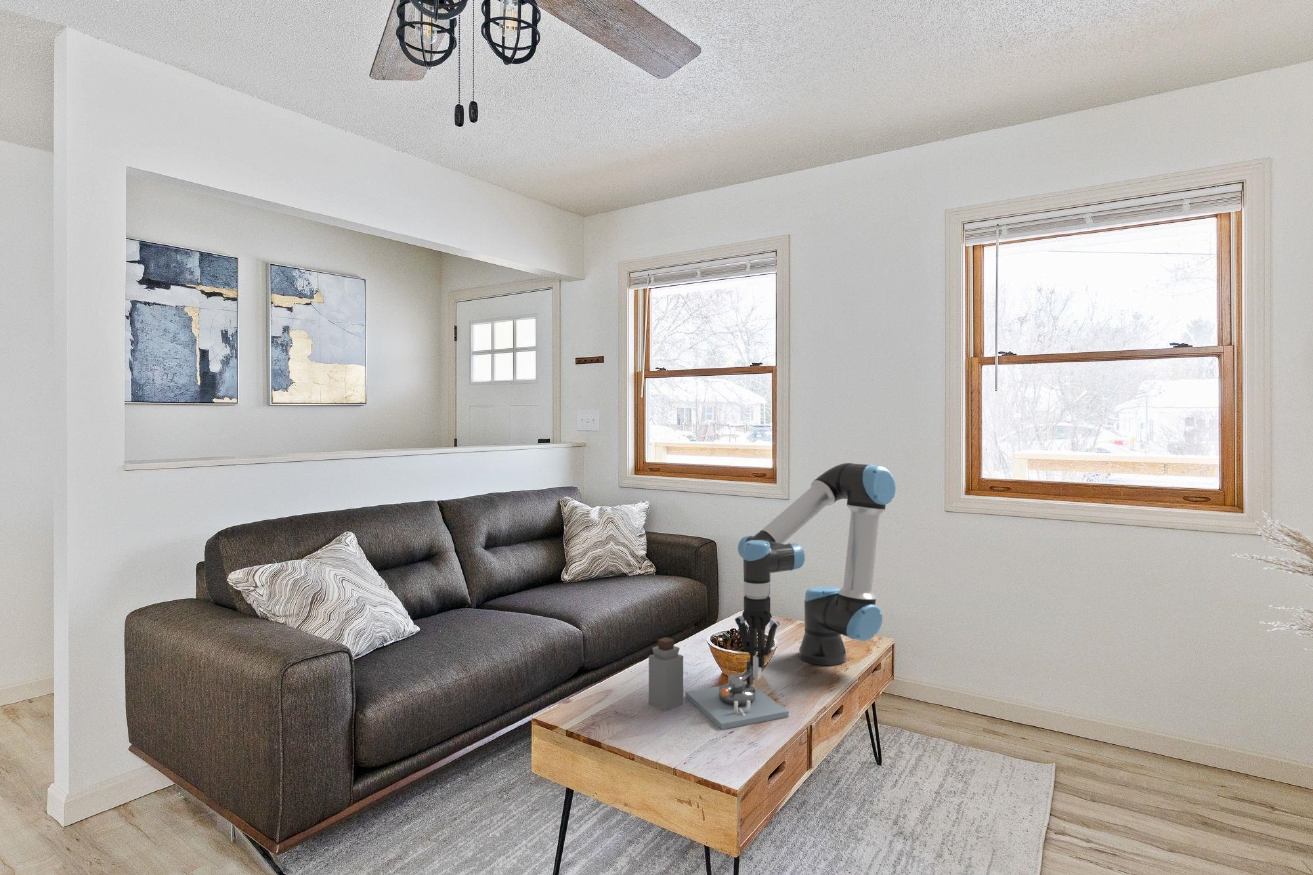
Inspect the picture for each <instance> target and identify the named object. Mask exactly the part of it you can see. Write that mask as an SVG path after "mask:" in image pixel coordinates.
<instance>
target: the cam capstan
mask: <svg viewBox="0 0 1313 875" xmlns="http://www.w3.org/2000/svg"><path fill="white" fill-rule="evenodd" d="M727 676H728V677H727V678H728V680H727V681H728V682H727V683H723V684H721V685H719V686H720V687H719V699H720V700H721V701H723V702H725V703H728V704H733V705H734V701H738V705H745V704H747V700H750V703H752V702H753V701H754V700H755V688H754V687H755V686H754V687H752V686H751V685H753V684H754V683H753V682H754V681H753V680H754V679H753V666H751V664H750V659H748V660H747V661H746V669H745V670H744V671H743V672H742V673H730V674H729V675H727ZM745 681H746V682H747V684H744V683H743V682H745Z"/></svg>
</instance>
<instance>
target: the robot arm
mask: <svg viewBox="0 0 1313 875" xmlns="http://www.w3.org/2000/svg"><path fill="white" fill-rule="evenodd" d="M896 489H897V488H896V480H895V478H894V475H892V473H891V471H890V470H889V469H887V468H886V467H884V466H882V465H881V466H879V465H877V464H876V465H875V464H865V463H864V464H863V463H853V462H852V463H851V462H845V463H840V464H838V465H835V466H833V467H831V468H830V469H828V470H826V471H825V472H823V473H822V474H820V475H819V476H817V477H816V478H815V479H814V480H813V481H812V482H811V484H810V487H809V489H807V490H806V491H805V492H804V493H803V494H802V495H800V496H799V497H798V498H797V499H795V501H793V502H792V503H791V504H790V505H789V506H788V507H786V508H785V509H783V511H781V512H780V513H779V514H778V515H777V516H776V517H774V518H773V519H772V520H771V521H770V522H769V523H768V524H766V525H765V526H764V527H762V529H761V530H760V531H759V532H757V533H755V535H754V536H753V535H746V536H743V537H742V538H741V539H740V540H739V542H738V545H737V552H738V554H739V556H740V557H741V558H742V560H743V562H742V563H743V564H742V566H743V594H744V596H743V611H742V615H739V616H737V617H735V618H734V620H735V623H736V624H737V627H738V632H739V635H740V639H741V645H742V649H743V651H744V652H745V653H748V654H749V656H750V657H749V658H750V664H751V666H753V680H760V678H762V668H763V667H765V656H768V655H769V654H770V653H772V650H773V649H772V648H773V644H774V639H775V635H776V633H777V632H776V631H777V629H778V627H779V626H780V624H781V623H780V622H779V621H775V620H774V619H773V615H772V613H771V597H770V596H771V574H775V573H781V572H788V571H789V572H790V571H793V570H797V569H801V568H802V567H803V565H804V564H805V559H806V558H805V556H806V555H805V551H804V549H803V548H802V546H801V545H800V544H798V543H790V542H789V543H785V542H787V541H788V540H789V539H790V538H791V537H792V536H794V535H795V534H796V533H797V532H798V531H799V530H800V529H802V527H804V526H805V525H806V524H807V523H808V522H810V520H811V519H813V518H814V517H815V516H817V515H818V514H819V513H820V512H821V511H822V510H823V509H824V508H825V507H826V506H833V505H834V504H835V503H836V502H837V501H840V500H844V499H845V500H846V506H847V508H848V509H849V511H850V519H849V528H848V539H847V549H846V557H845V566H844V567H845V568H844V576H843V577H844V578H843V586H842V588H840V587H837V586H816V587H811V588H809V589H807V590H806V591H805V594H804V595H805V596H804V601H803V602H804V634H803V637H802V639H801V643H800V647H799V649H798V656H799V658H800V659H801V660H803V661H804V662H806V663H810V664H813V665H819V666H836V665H840V664H841V665H842V664H843V663H845V662H846V661H847V650H846V648H845V644H844V641H843V637H842V635H843V636H844V637H848V638H849V639H851V640H857V641H859V642H866V641H867V642H868V641H870V640H871V639H873V638H874V637H875V636H876V635H877V634H878V633H879V632H880V629H881V627H882V623H883V613H882V611H881V609H880V608H879V606H877V605H876V602H877V601H876V600H877V597H876V595H875V594H874V592H873V590H872V589H873V582H874V581H873V580H874V573H875V571H874V570H875V563H876V562H875V561H876V552H877V544H878V543H877V542H878V533H879V532H878V531H879V523H880V515H881V514H882V513H883V512H885V511H886V505H887V504H889V503H891V502H892V500H893V499H894V497H895V495H896ZM746 623H747V624H746ZM768 624H769V630H768V632H767V633H768V634H767V638H766V627H767V626H768ZM747 626H748V628H747Z"/></svg>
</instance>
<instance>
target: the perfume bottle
mask: <svg viewBox="0 0 1313 875" xmlns="http://www.w3.org/2000/svg"><path fill="white" fill-rule="evenodd" d="M651 649H652V652H653V654H650V655H648V704H649V705H651V706H652V707H653V706H654V707H656V708H657V709H660V710H663V711H665V712H667V711H670V710H672V709H674V708H676V707H679V706H681V705H683V704H684V655H682V654H679V652H680V647H679V646H676V645H675V639H674V638H670V637H667V636H666V637H662V638H659V639H657V645H656V646H654V647H652V648H651Z"/></svg>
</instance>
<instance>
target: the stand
mask: <svg viewBox="0 0 1313 875" xmlns="http://www.w3.org/2000/svg"><path fill="white" fill-rule="evenodd" d="M743 683H744V684H747V681H743ZM720 686H721V685H719V686H713V687H707V688H701V689H696V690H695V689H694V690H689V691H685V698H686V699H687V700H689V701H690V703H692V704H693V705H694V706H695V707H696V708H697V709H698V710H699V711H701V712H702V713H703V714H704V715H705V716H706V717H707V718H708V719H710V721H712V722H713V723H714V724H715V725H716V726H717V727H718V728H720V729H721V730H726V729H732V728H737V727H742V726H748V725H752V724H759V723H762V722H767V721H772V720H778V719H779V720H780V719H784V718H789V717H790V714H789V712H790V711H789V710H788V709H787V708H785V707H784V706H783V705H781V704H779V703H778V702H777V701H776V700H774V699H773V698H771V697H770V696H768V695H767V694H766V693H764V692H763V691H761V690H760V689H759V688H757V687H756V686H754V685H753V684H752V685H751V686H752V687H754V688H755V700H754V701H753V702H752V703H750V700H747V704H745V705H738V701H734V705H733V704H728V703H725V702H723V701H721V700H720V699H719V687H720Z"/></svg>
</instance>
